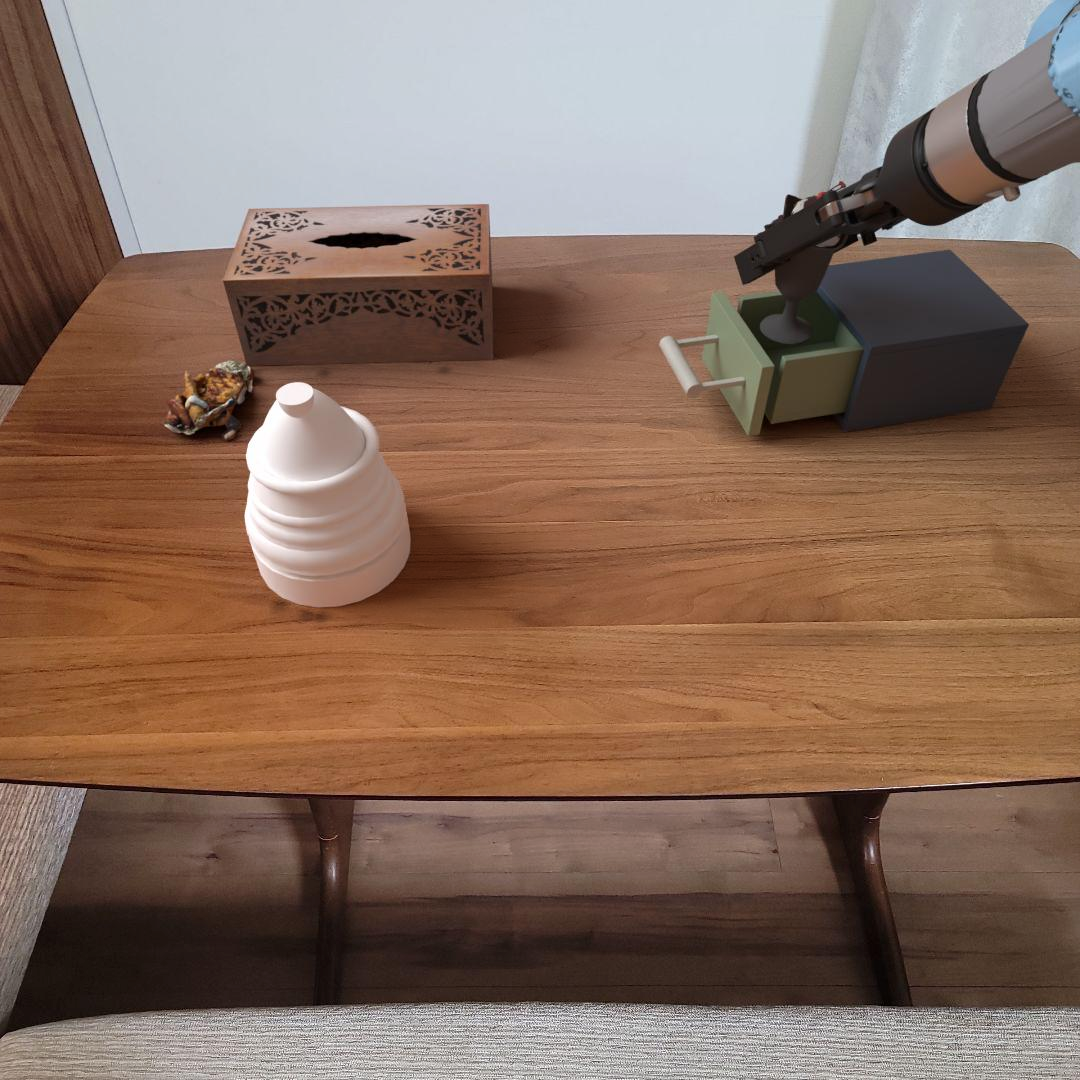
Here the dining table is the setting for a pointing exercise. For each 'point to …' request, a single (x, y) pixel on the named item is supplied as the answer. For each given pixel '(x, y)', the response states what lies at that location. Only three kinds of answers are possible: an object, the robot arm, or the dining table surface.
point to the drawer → (771, 361)
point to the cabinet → (921, 337)
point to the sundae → (799, 279)
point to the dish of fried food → (210, 399)
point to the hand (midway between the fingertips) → (774, 260)
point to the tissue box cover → (363, 284)
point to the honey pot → (323, 502)
